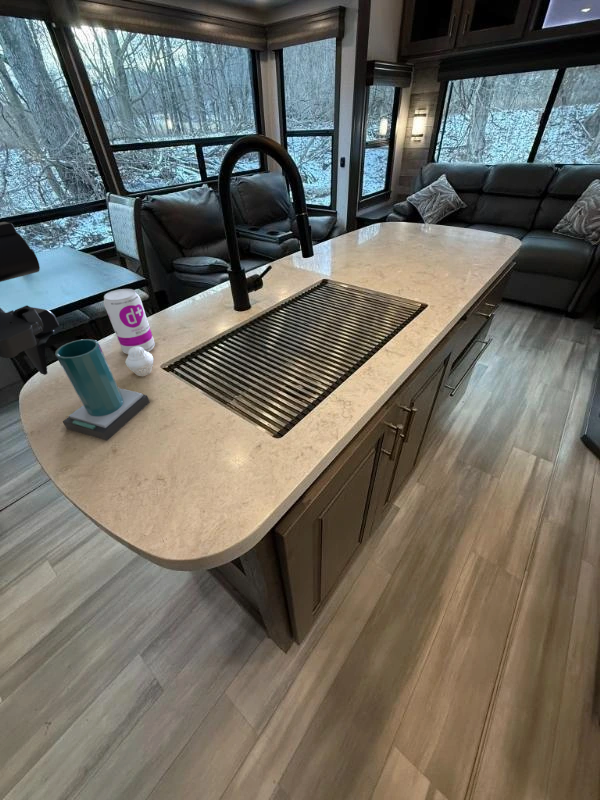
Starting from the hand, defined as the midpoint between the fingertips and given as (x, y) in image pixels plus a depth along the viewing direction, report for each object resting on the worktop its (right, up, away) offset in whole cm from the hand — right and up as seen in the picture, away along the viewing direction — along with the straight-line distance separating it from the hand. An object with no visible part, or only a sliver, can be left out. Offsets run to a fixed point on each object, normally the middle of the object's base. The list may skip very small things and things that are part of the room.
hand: (18, 389), depth 53 cm
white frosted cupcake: (+8, +5, +27) cm, 28 cm away
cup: (+6, -3, +13) cm, 15 cm away
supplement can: (+2, +12, +36) cm, 38 cm away
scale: (+6, -5, +15) cm, 17 cm away
